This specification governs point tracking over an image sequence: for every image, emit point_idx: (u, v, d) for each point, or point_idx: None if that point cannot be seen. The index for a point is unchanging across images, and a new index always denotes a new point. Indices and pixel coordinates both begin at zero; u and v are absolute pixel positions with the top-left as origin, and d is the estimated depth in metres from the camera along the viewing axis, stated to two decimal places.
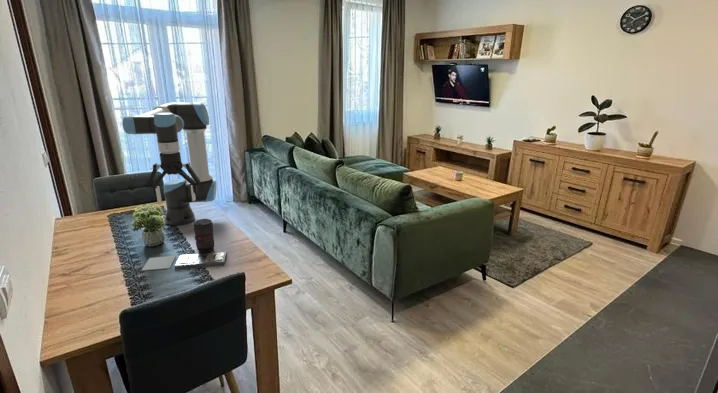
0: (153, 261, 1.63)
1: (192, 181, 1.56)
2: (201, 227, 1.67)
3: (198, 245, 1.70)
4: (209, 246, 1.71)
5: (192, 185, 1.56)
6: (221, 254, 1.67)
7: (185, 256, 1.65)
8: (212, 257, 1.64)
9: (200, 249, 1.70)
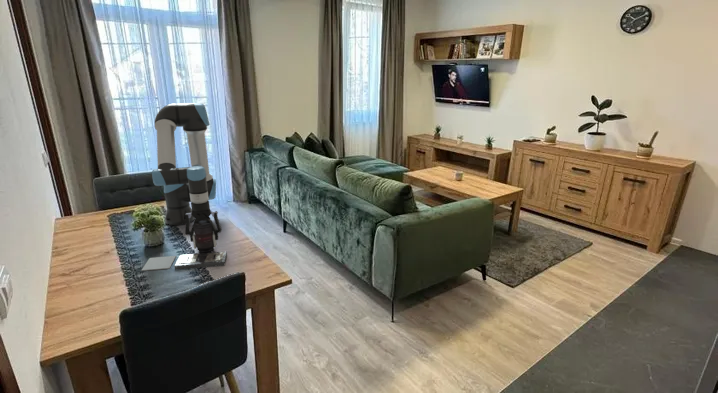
0: (153, 261, 1.63)
1: (215, 229, 1.72)
2: (201, 227, 1.67)
3: (198, 245, 1.70)
4: (209, 246, 1.71)
5: (214, 233, 1.71)
6: (221, 254, 1.67)
7: (185, 256, 1.65)
8: (212, 257, 1.64)
9: (200, 249, 1.70)
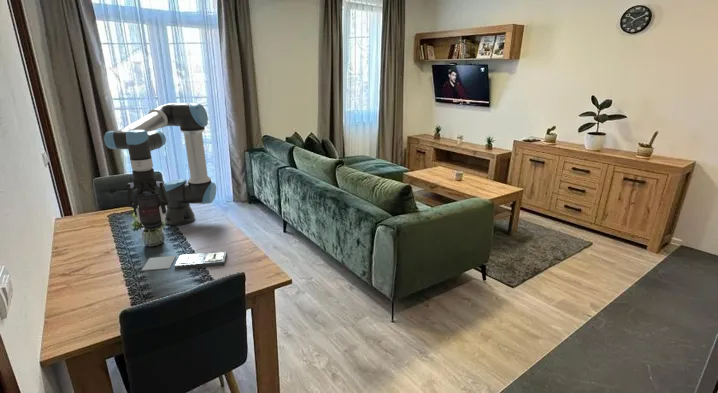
0: (153, 261, 1.63)
1: (162, 201, 1.54)
2: (144, 198, 1.49)
3: (142, 219, 1.52)
4: (155, 220, 1.54)
5: (160, 205, 1.54)
6: (221, 254, 1.67)
7: (185, 256, 1.65)
8: (212, 257, 1.64)
9: (145, 223, 1.53)
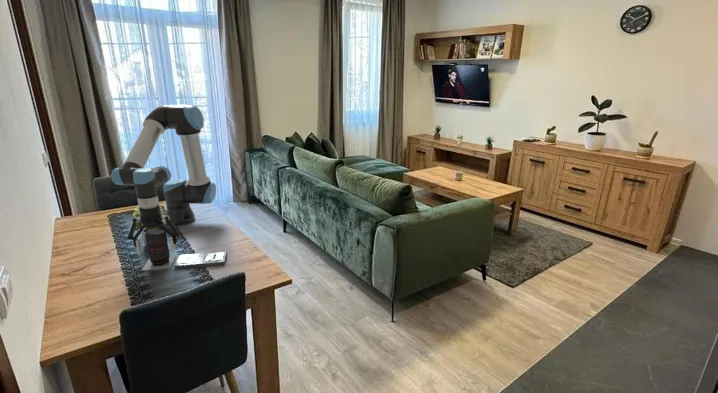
0: None
1: (172, 233, 1.59)
2: (153, 237, 1.55)
3: (150, 257, 1.58)
4: (163, 257, 1.59)
5: (172, 237, 1.59)
6: (221, 254, 1.67)
7: (185, 256, 1.65)
8: (212, 257, 1.64)
9: (153, 261, 1.59)
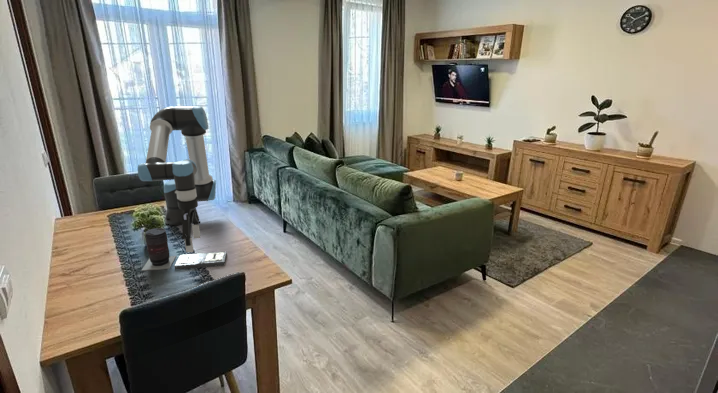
0: None
1: None
2: (153, 237, 1.55)
3: (150, 256, 1.58)
4: (163, 257, 1.59)
5: None
6: (221, 254, 1.67)
7: (185, 256, 1.65)
8: (212, 257, 1.64)
9: (153, 261, 1.59)
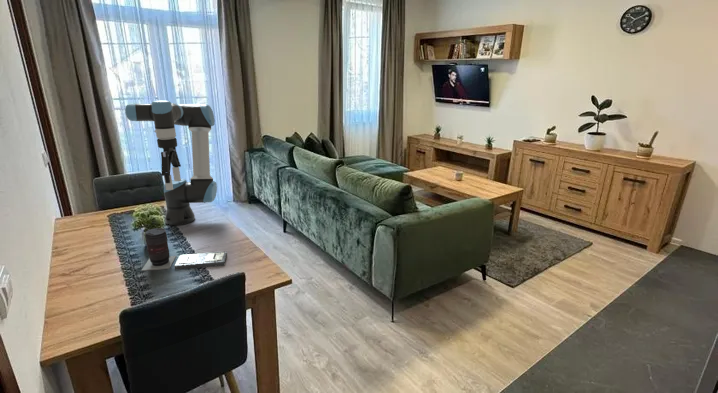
0: None
1: None
2: (153, 237, 1.55)
3: (150, 257, 1.58)
4: (163, 257, 1.59)
5: None
6: (221, 254, 1.67)
7: (185, 256, 1.65)
8: (212, 257, 1.64)
9: (153, 261, 1.59)
